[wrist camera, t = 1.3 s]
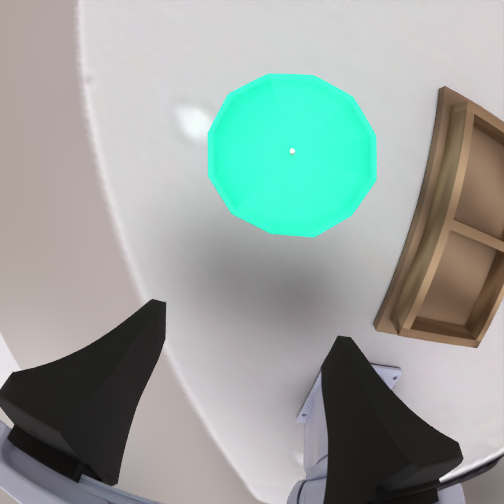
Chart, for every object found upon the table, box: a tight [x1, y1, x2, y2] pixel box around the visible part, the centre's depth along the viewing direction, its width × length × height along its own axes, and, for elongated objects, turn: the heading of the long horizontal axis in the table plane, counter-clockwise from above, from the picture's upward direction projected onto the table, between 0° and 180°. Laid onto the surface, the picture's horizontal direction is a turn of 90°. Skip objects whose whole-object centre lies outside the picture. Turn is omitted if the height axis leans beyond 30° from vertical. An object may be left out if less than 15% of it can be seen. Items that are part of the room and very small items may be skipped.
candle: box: [208, 74, 377, 237], centre depth 13 cm, size 6×6×12 cm
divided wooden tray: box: [373, 86, 504, 348], centre depth 16 cm, size 20×10×4 cm, turn 168°
